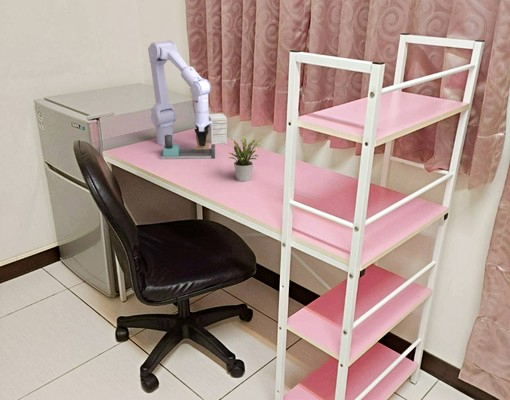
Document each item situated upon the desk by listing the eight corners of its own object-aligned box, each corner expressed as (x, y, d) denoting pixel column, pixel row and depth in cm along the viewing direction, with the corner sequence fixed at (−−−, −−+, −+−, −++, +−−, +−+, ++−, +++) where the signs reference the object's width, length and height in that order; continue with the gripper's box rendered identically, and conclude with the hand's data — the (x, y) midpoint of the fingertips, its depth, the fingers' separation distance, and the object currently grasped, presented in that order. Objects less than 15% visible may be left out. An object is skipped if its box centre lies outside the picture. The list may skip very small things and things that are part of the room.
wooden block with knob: (197, 145, 208) (196, 130, 205) (209, 145, 208) (208, 130, 206) (196, 149, 203) (196, 133, 201) (209, 149, 204) (208, 133, 201)
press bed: (162, 153, 211) (162, 144, 209) (215, 152, 212) (214, 143, 211) (160, 161, 202) (159, 152, 200) (215, 160, 203) (214, 151, 202)
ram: (165, 151, 210) (164, 133, 206) (179, 151, 210) (178, 132, 207) (163, 157, 202) (162, 138, 199) (178, 157, 203) (177, 138, 199)
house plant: (270, 174, 190) (271, 132, 184) (260, 187, 178) (261, 143, 171) (234, 170, 194) (234, 129, 187) (222, 183, 182) (222, 139, 175)
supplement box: (207, 141, 227) (206, 113, 222) (223, 139, 230) (223, 112, 224) (211, 146, 221) (210, 118, 216) (227, 144, 223) (227, 116, 218)
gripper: (211, 115, 193) (212, 149, 199) (211, 106, 207) (212, 138, 212) (193, 115, 193) (194, 149, 198) (194, 106, 206) (195, 138, 212)
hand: (202, 143), depth 205 cm, fingers closed on wooden block with knob, 5 cm apart
